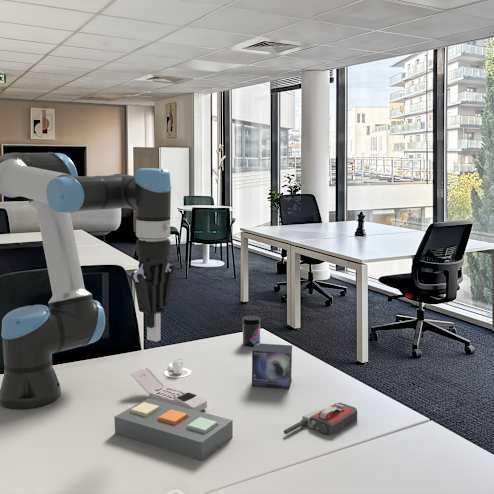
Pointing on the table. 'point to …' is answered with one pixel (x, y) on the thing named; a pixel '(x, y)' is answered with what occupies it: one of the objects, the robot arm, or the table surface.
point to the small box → (272, 365)
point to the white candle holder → (176, 368)
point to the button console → (174, 430)
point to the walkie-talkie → (328, 419)
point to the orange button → (173, 417)
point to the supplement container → (251, 330)
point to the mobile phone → (168, 392)
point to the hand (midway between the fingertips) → (153, 339)
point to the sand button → (145, 409)
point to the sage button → (202, 425)
